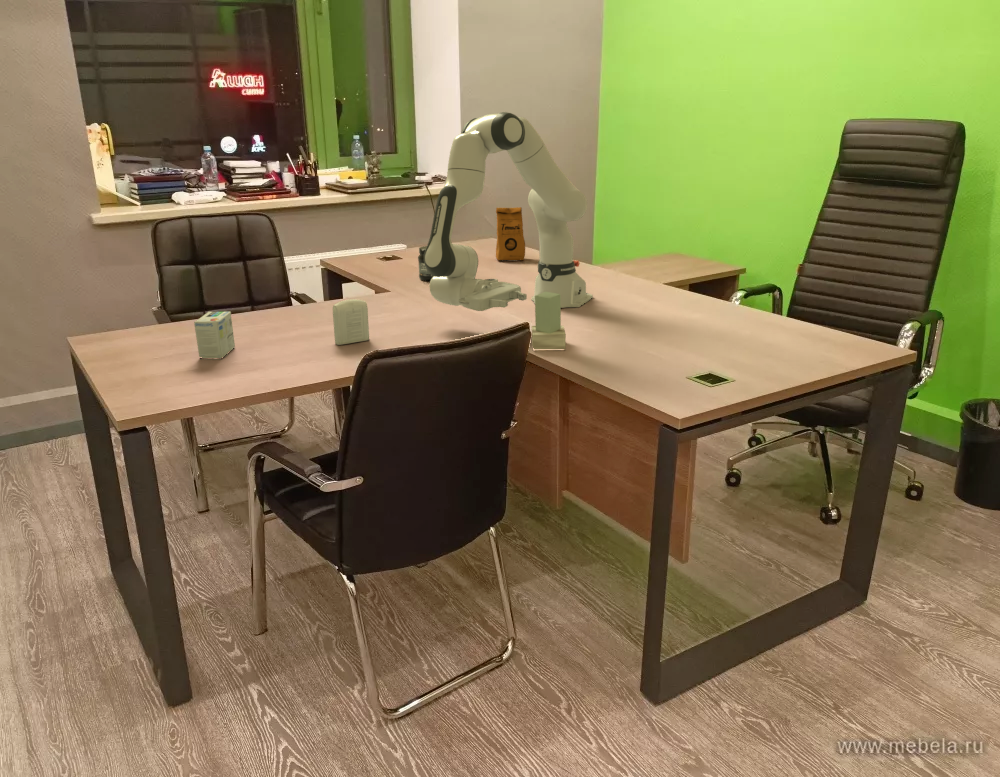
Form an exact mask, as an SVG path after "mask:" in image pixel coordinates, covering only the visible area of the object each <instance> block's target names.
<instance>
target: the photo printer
mask: <svg viewBox="0 0 1000 777" xmlns="http://www.w3.org/2000/svg"><path fill="white" fill-rule="evenodd" d="M332 319H333V335H334V343H335V345H337V346H340V345H341V346H342V345H348V344H353V343H359V342H365V341H369V340H370V327H369V307H368V304H367V301H365V300H364V299H356V298H354V299H353V298H352V299H351V298H350V299H344V300H342V301H339V302H337V303H335V304H333V305H332Z"/></svg>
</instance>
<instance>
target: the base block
mask: <svg viewBox="0 0 1000 777" xmlns="http://www.w3.org/2000/svg"><path fill="white" fill-rule="evenodd" d="M566 335H567V334H566V330H565V326H564V325H561V329H559V330H557V331H555V332H553V333H545V332H540V331H536V325H531V347H532V346H533V348H534V349H565V350H566V344H567V343H566V342H567V340H566V339H567V338H566Z"/></svg>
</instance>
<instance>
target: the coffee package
mask: <svg viewBox="0 0 1000 777" xmlns="http://www.w3.org/2000/svg"><path fill="white" fill-rule="evenodd" d="M522 211H523V208H522V207H496V208H495V213H496V237H497V238H496V248H495V258H496V260H498V261H501V260H523V261H524V259H525V257H526V240H525V236H524V229H523V228H524V224H523V214H522V213H523V212H522Z"/></svg>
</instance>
